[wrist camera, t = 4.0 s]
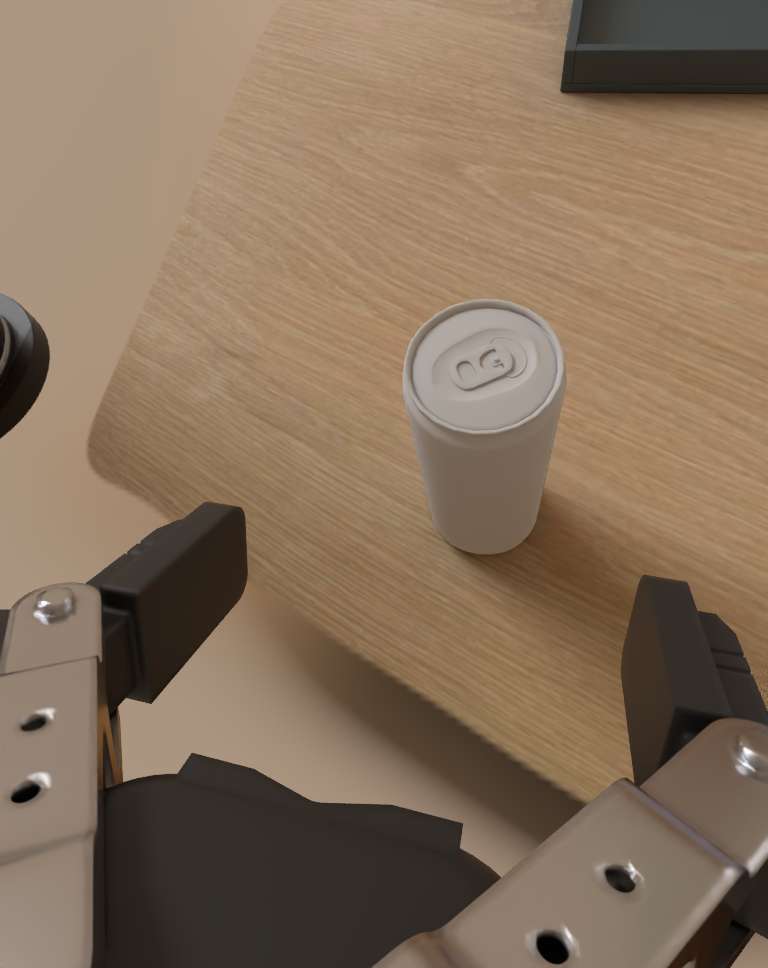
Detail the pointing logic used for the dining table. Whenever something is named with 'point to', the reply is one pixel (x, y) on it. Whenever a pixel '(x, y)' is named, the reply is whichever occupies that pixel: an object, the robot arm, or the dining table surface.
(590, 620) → the dining table surface
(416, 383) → the beverage can
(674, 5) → the serving tray
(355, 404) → the dining table surface
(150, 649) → the robot arm
